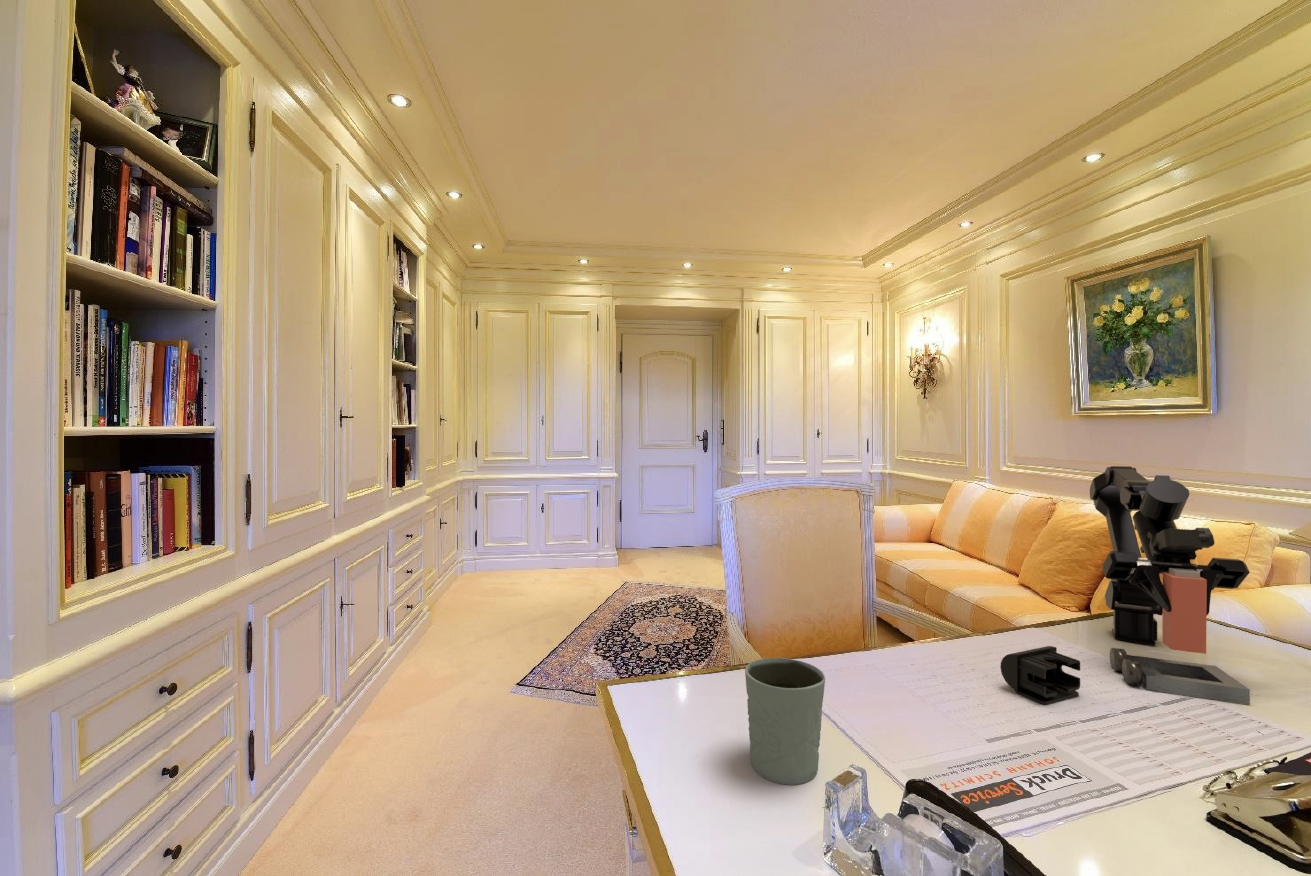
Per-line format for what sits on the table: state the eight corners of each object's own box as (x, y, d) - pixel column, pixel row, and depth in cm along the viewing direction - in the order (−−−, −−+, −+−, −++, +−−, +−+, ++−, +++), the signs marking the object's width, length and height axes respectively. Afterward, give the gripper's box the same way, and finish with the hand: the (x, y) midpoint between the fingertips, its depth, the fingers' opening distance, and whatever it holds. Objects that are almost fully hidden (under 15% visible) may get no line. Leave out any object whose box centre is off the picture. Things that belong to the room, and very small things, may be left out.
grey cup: (737, 777, 68) (738, 681, 68) (752, 736, 78) (752, 652, 78) (822, 796, 65) (822, 694, 65) (826, 750, 74) (827, 662, 74)
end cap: (1038, 678, 97) (1038, 640, 97) (1082, 696, 91) (1082, 655, 91) (999, 688, 94) (999, 648, 94) (1042, 706, 87) (1042, 664, 87)
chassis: (1109, 665, 103) (1109, 644, 103) (1216, 680, 97) (1215, 657, 97) (1130, 687, 94) (1130, 664, 94) (1249, 705, 88) (1249, 680, 88)
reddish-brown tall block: (1162, 642, 97) (1162, 566, 97) (1195, 646, 95) (1196, 569, 95) (1171, 649, 94) (1172, 571, 94) (1206, 653, 92) (1206, 573, 92)
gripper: (1108, 507, 102) (1132, 582, 92) (1243, 513, 94) (1285, 594, 84) (1094, 542, 109) (1114, 614, 99) (1218, 549, 101) (1253, 628, 91)
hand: (1187, 612), depth 93 cm, fingers closed on reddish-brown tall block, 4 cm apart
